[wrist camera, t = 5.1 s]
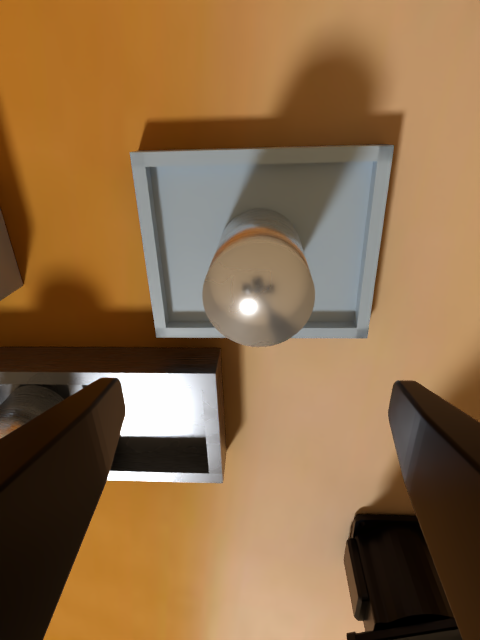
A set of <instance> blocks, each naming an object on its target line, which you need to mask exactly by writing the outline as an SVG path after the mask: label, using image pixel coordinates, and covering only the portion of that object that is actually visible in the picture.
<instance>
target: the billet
mask: <svg viewBox="0 0 480 640" xmlns="http://www.w3.org/2000/svg"><path fill="white" fill-rule="evenodd" d="M202 299H203V306H204V309H205V312H206V314H207V317H208V319H209V320H210V322H211V323H212V325H213V326H214V327H215V328H216V329H217V330H218V331H219V332H220V333H221V334H222V335H224V336H225V337H226V338H228V339H230V340H232V341H234V342H236V343H239V344H242V345H246V346H251V347H266V346H272V345H276V344H279V343H282V342H284V341H286V340H288V339H290V338H291V337H293V336H294V335H295V334H297V333H298V332H299V331H300V330H301V329H302V328H303V327H304V325H305V324H306V323H307V321H308V320H309V318H310V316H311V313H312V311H313V307H314V303H315V288H314V283H313V280H312V276H311V273H310V270H309V267H308V264H307V261H306V257H305V254H304V251H303V248H302V245H301V242H300V239H299V235H298V233H297V231H296V229H295V227H294V226H293V224H292V223H291V222H290V221H289V220H288V219H287V218H286V217H285V216H283V215H282V214H280V213H278V212H276V211H273V210H269V209H252V210H248V211H245V212H243V213H241V214H239V215H237V216H236V217H235V218H233V219H232V220H231V221H230V222H229V224H228V225H227V226H226V228H225V229H224V231H223V233H222V236H221V238H220V241H219V244H218V246H217V249H216V251H215V254H214V257H213V259H212V262H211V265H210V267H209V270H208V272H207V275H206V278H205V281H204V284H203V291H202Z"/></svg>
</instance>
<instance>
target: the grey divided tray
mask: <svg viewBox="0 0 480 640" xmlns="http://www.w3.org/2000/svg"><path fill="white" fill-rule="evenodd" d="M102 377H106V378H118V379H119V380H120V382H121V386H122V391H123V396H124V401H125V406H126V413H125V418H124V422H123V426H122V429H121V433H120V436H119V440H118V444H117V447H116V451H115V455H114V458H113V462H112V465H111V469H110V472H109V475H108V478H107V480H120V481H158V482H195V483H223V478H224V469H225V460H226V452H227V451H226V433H225V416H224V399H223V382H222V365H221V348H129V347H0V405H1V404H2V403H3V402H4V401H5V400H6V399H7V397H8V396H9V395H10V394H11V393H12V392H13V391H14V390H16V389H17V388H19V387H22V386H26V385H37V386H42V387H45V388H48V389H50V390H52V391H54V392H56V393H57V394H59V395H60V396H61V397H62V398H63V399H64V400H65V399H66V398H68V397H70V396H71V395H73V394H74V393H76V392H78V391H79V390H81V389H83V388H84V387H86V386H88V385H89V384H91V383H92V382H94V381H96V380H97V379H99V378H102Z"/></svg>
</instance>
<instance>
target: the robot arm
mask: <svg viewBox="0 0 480 640" xmlns="http://www.w3.org/2000/svg"><path fill="white" fill-rule="evenodd" d="M125 413H126V406H125V401H124V396H123V391H122V386H121V382H120V380H119V379H118V378H106V377H102V378H99V379H97V380H96V381H94V382H92V383H91V384H89V385H88V386H86V387H84V388H83V389H81V390H79V391H78V392H76V393H74V394H73V395H71V396H70V397H68V398H66V399H65V400H63V401H61V402H60V403H58V404H56V405H55V406H53V407H51V408H50V409H48V410H47V411H45V412H43V413H42V414H40V415H38V416H37V417H35V418H33V419H32V420H30V421H28V422H27V423H25V424H24V425H22V426H20V427H19V428H17V429H15V430H14V431H12V432H10V433H9V434H7V435H6V436H4V437H2V438H1V439H0V640H43V638H44V636H45V633H46V631H47V628H48V626H49V623H50V621H51V618H52V616H53V613H54V611H55V608H56V606H57V603H58V601H59V599H60V596H61V594H62V591H63V589H64V586H65V584H66V581H67V579H68V576H69V574H70V571H71V569H72V566H73V564H74V561H75V559H76V556H77V554H78V551H79V549H80V546H81V544H82V541H83V539H84V536H85V534H86V531H87V529H88V526H89V524H90V521H91V519H92V516H93V514H94V511H95V509H96V506H97V504H98V501H99V499H100V496H101V494H102V491H103V489H104V486H105V484H106V481H107V478H108V475H109V472H110V469H111V465H112V462H113V458H114V455H115V451H116V447H117V444H118V440H119V436H120V433H121V429H122V426H123V422H124V418H125ZM388 417H389V423H390V427H391V431H392V435H393V439H394V443H395V447H396V451H397V455H398V459H399V463H400V468H401V472H402V475H403V479H404V483H405V486H406V489H407V492H408V495H409V497H410V500H411V503H412V505H413V508H414V511H415V513H416V516H391V515H357V516H356V517H354V521H353V527H352V533H351V538H349V539H348V540H347V542H346V548H345V555H344V565H345V570H346V576H347V581H348V586H349V592H350V597H351V603H352V608H353V614H354V617H355V618H356V619H357V620H358V621H363V622H364V627H365V632H361V633H355V632H350V633H347V640H480V422H478V421H477V420H475V419H473V418H472V417H470V416H469V415H467V414H466V413H464V412H463V411H461V410H459V409H458V408H456V407H455V406H453V405H452V404H450V403H449V402H447V401H445V400H444V399H442V398H441V397H439V396H438V395H436V394H435V393H433V392H431V391H430V390H428V389H427V388H425V387H424V386H422V385H421V384H419V383H417V382H416V381H396V382H395V383H394V385H393V388H392V394H391V399H390V404H389V410H388Z"/></svg>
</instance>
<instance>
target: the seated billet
mask: <svg viewBox="0 0 480 640" xmlns="http://www.w3.org/2000/svg"><path fill="white" fill-rule="evenodd" d="M63 400H64V399H63V398H62V397H61V396H60V395H59V394H57V393H56V392H54V391H52V390H50V389H48V388H45V387H42V386H37V385H26V386H22V387H19V388H17V389H16V390H14V391H13V392H12V393H11V394H10V395H9V396H8V397H7V399H6V400H5V401H4V402H3V403H2V404H1V405H0V439H1V438H2V437H4V436H6V435H7V434H9V433H10V432H12V431H14V430H15V429H17V428H19V427H20V426H22V425H24V424H25V423H27V422H28V421H30V420H32V419H33V418H35V417H37V416H38V415H40V414H42V413H43V412H45V411H47V410H48V409H50V408H51V407H53V406H55V405H56V404H58V403H60V402H61V401H63Z"/></svg>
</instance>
